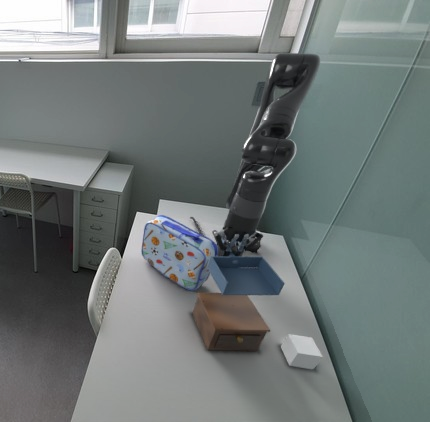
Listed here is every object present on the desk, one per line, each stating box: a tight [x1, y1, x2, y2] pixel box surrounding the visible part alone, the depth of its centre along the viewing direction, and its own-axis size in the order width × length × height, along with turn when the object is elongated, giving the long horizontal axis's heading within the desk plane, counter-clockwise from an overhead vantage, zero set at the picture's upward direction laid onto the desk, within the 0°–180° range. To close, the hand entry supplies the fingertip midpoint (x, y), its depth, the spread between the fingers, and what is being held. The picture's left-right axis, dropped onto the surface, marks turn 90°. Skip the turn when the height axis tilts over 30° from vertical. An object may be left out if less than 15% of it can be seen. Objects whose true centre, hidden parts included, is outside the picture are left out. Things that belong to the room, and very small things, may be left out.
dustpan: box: [208, 239, 286, 296], centre depth 87 cm, size 20×14×4 cm
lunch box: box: [141, 214, 218, 291], centre depth 112 cm, size 28×10×22 cm, turn 37°
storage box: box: [191, 292, 271, 352], centre depth 92 cm, size 15×15×10 cm
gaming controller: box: [244, 238, 262, 254], centre depth 130 cm, size 14×6×10 cm
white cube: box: [280, 333, 324, 370], centre depth 86 cm, size 6×6×6 cm
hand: (228, 258), depth 90 cm, fingers closed on dustpan, 2 cm apart
